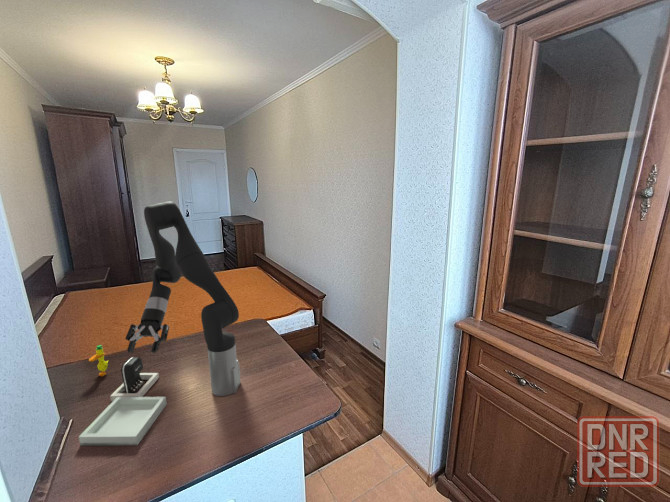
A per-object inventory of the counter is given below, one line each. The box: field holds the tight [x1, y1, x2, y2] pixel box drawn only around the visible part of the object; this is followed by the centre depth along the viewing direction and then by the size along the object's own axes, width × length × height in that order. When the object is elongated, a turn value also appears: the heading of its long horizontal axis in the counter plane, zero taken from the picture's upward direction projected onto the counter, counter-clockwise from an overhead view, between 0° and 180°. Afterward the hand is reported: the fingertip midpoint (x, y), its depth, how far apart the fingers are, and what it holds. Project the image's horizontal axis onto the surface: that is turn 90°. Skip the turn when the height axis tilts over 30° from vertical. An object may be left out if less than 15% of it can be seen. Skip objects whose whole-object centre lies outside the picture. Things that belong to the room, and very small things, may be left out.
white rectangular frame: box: [109, 372, 160, 402], centre depth 109 cm, size 9×12×2 cm
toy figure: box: [88, 344, 109, 377], centre depth 115 cm, size 7×4×12 cm, turn 166°
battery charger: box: [120, 356, 145, 393], centre depth 108 cm, size 7×4×11 cm, turn 2°
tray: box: [78, 396, 168, 447], centre depth 93 cm, size 16×16×3 cm
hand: (141, 352), depth 112 cm, fingers open, 8 cm apart
